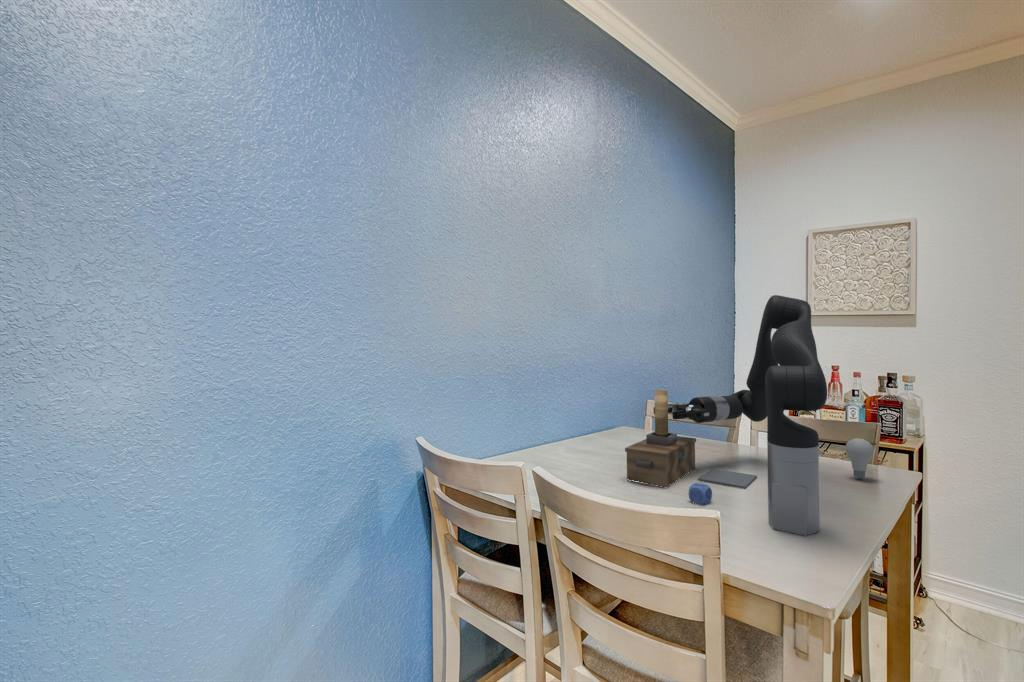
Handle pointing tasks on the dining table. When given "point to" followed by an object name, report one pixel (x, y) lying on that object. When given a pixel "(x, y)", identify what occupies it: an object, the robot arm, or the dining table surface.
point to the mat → (728, 478)
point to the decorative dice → (700, 493)
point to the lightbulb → (859, 455)
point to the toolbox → (660, 461)
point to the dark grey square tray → (661, 439)
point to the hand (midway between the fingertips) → (663, 413)
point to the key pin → (661, 413)
